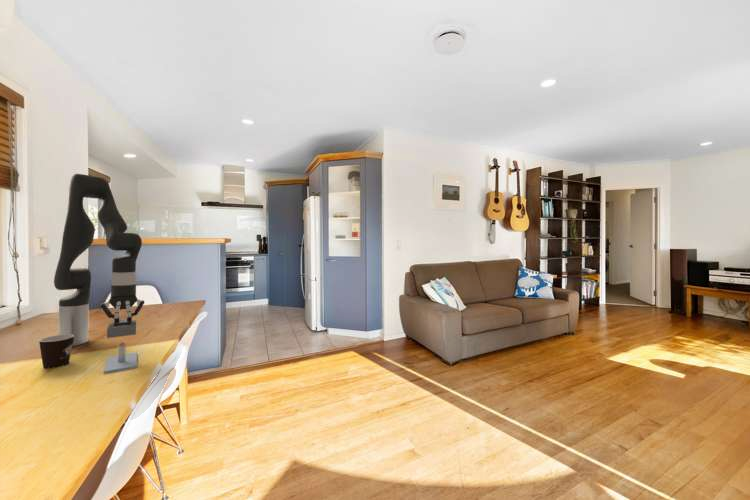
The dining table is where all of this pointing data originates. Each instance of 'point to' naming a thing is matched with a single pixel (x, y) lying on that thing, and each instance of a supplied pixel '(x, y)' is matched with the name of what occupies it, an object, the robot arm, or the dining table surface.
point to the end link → (121, 328)
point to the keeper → (121, 361)
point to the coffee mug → (56, 350)
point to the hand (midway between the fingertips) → (122, 326)
